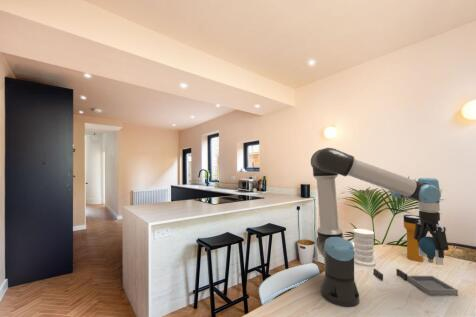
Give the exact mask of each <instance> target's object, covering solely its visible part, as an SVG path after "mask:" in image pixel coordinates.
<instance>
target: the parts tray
mask: <svg viewBox="0 0 476 317" xmlns="http://www.w3.org/2000/svg"><path fill="white" fill-rule="evenodd" d="M407 283H409V284H411V285H412V286H413V287H415V288H417V289H418V290H420V291H421V292H423V293H424V294H426V295H427V296H429V297H431V296H432V297H434V296H435V297H436V296H437V297H438V296H440V297H441V296H442V297H443V296H444V297H451V296H452V297H453V296H454V297H457V296H459V290H458V289H457V288H455V287H454V286H452V285H450V284H448V283H446V282H444V281H443V280H441V279H439V278H437V277H435V276H433V275H407Z"/></svg>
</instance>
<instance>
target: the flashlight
mask: <svg viewBox="0 0 476 317" xmlns="http://www.w3.org/2000/svg"><path fill="white" fill-rule="evenodd" d="M415 220H421V219H420V218H419V215H413V214H404V215H403V228H404V229H405V230H406V257H407V259H409V260H411V261H416V262H423V260H424V258H423V257H420V256H419V248H418V241H417V240H416V239H414V234H415V227H416V223H415ZM417 237H418V236H417Z"/></svg>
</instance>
